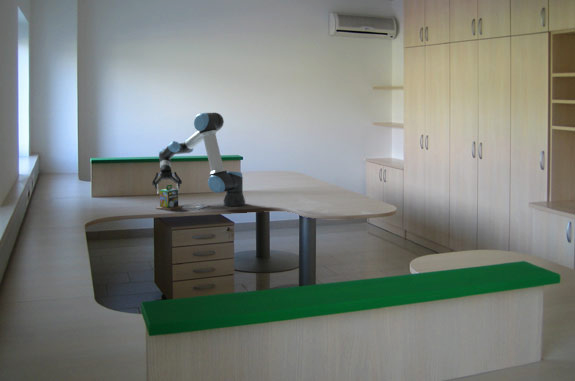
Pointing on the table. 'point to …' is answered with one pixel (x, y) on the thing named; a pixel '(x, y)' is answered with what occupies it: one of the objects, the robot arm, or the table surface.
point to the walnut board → (169, 208)
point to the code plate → (195, 206)
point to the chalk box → (168, 197)
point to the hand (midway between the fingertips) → (168, 192)
